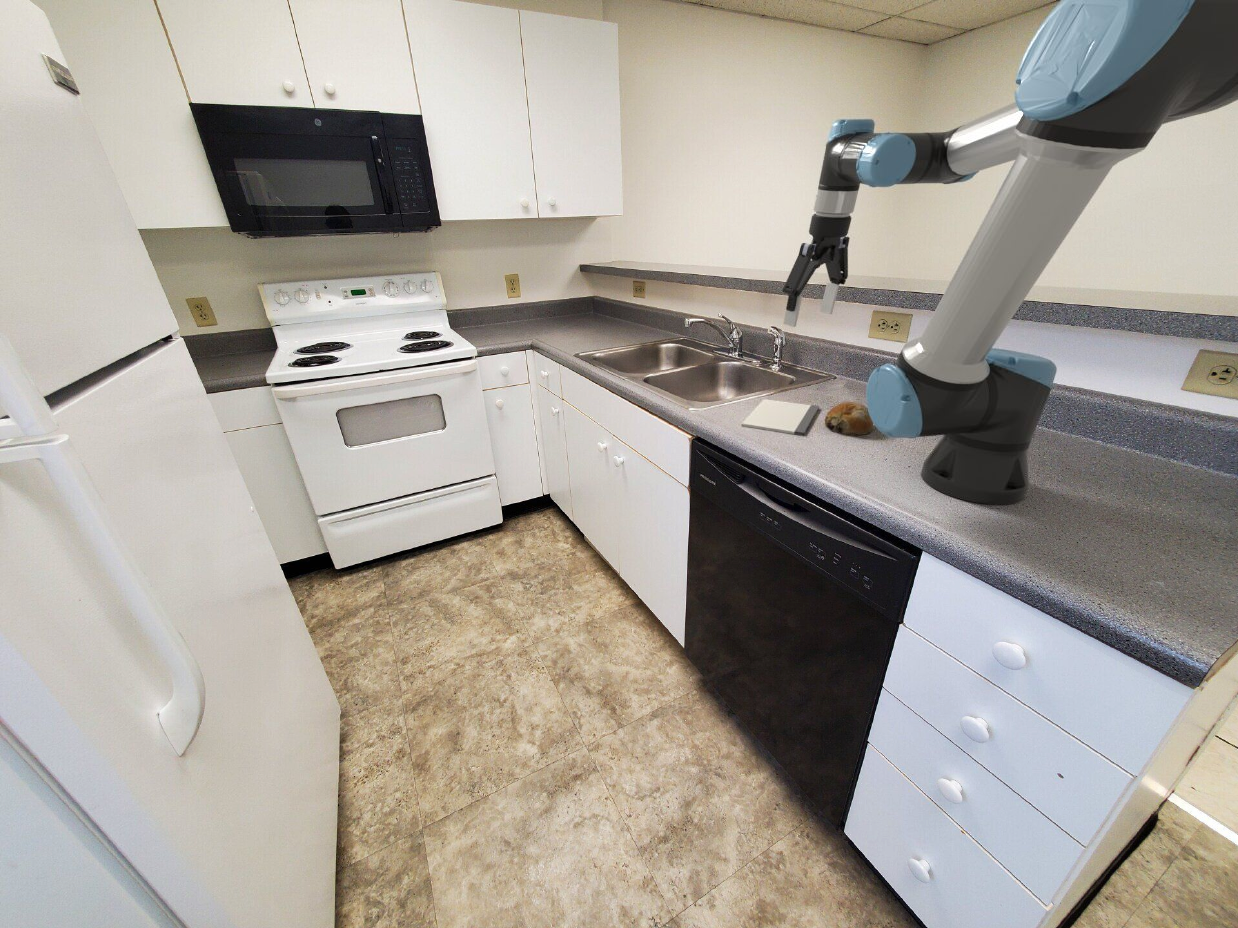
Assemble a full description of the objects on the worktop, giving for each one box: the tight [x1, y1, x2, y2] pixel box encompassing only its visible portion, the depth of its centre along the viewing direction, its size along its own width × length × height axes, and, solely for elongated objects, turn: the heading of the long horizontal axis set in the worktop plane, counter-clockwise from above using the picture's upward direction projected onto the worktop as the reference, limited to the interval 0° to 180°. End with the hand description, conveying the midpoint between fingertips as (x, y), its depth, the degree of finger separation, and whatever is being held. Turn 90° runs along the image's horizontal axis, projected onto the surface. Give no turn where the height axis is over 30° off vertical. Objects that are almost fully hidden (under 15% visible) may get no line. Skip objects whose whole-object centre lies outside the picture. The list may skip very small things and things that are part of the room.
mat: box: [741, 398, 820, 437], centre depth 116 cm, size 20×14×1 cm
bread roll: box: [824, 401, 874, 436], centre depth 108 cm, size 10×10×8 cm
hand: (808, 318), depth 108 cm, fingers open, 13 cm apart
